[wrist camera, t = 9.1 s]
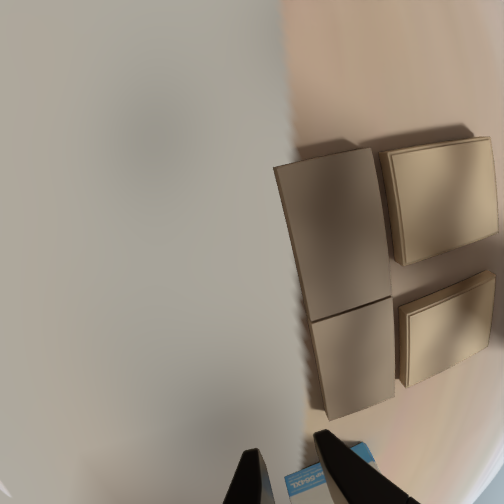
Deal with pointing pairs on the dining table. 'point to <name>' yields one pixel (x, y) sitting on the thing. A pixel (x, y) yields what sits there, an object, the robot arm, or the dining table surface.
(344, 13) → the dining table surface
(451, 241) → the plank front
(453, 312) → the plank rear
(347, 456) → the robot arm
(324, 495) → the ink box
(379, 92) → the dining table surface
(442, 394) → the dining table surface
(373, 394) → the tan wooden tile
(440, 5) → the dining table surface
